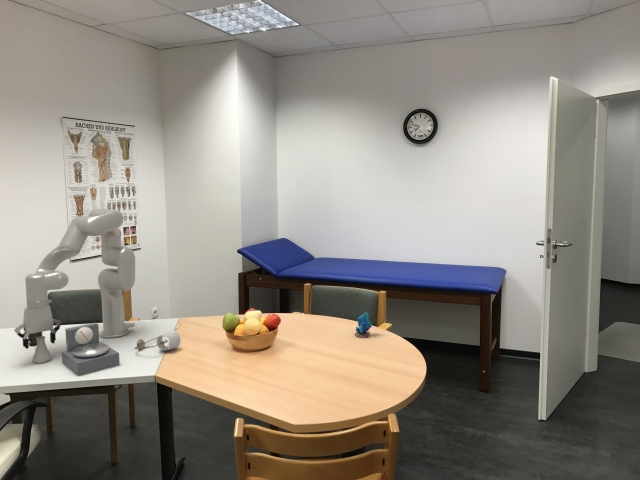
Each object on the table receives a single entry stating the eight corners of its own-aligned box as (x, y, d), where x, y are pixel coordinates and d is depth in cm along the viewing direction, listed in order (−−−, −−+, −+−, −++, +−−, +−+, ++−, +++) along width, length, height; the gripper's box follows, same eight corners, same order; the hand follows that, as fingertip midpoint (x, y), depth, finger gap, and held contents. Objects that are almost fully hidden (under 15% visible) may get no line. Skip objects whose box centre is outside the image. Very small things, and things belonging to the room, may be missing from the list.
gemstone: (374, 334, 242) (374, 310, 240) (363, 339, 235) (363, 314, 234) (361, 331, 247) (362, 307, 245) (350, 336, 240) (350, 311, 239)
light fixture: (212, 332, 248) (166, 356, 210) (181, 336, 254) (130, 360, 215) (209, 314, 248) (162, 334, 210) (178, 318, 253) (126, 339, 215)
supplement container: (45, 343, 230) (44, 323, 228) (32, 346, 225) (31, 327, 224) (38, 340, 233) (37, 321, 232) (25, 344, 228) (24, 324, 227)
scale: (102, 353, 217) (100, 321, 215) (119, 364, 205) (117, 331, 203) (62, 363, 206) (59, 329, 204) (78, 376, 194) (75, 340, 192)
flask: (56, 358, 211) (54, 335, 210) (41, 365, 204) (39, 341, 203) (43, 356, 214) (41, 333, 212) (28, 362, 207) (26, 339, 205)
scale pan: (101, 343, 213) (101, 341, 213) (114, 351, 203) (114, 348, 203) (68, 351, 204) (68, 348, 204) (80, 359, 195) (80, 357, 194)
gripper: (57, 299, 214) (59, 338, 216) (10, 306, 202) (13, 347, 204) (63, 302, 209) (65, 343, 211) (15, 309, 197) (18, 352, 199)
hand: (39, 345), depth 208 cm, fingers open, 9 cm apart
